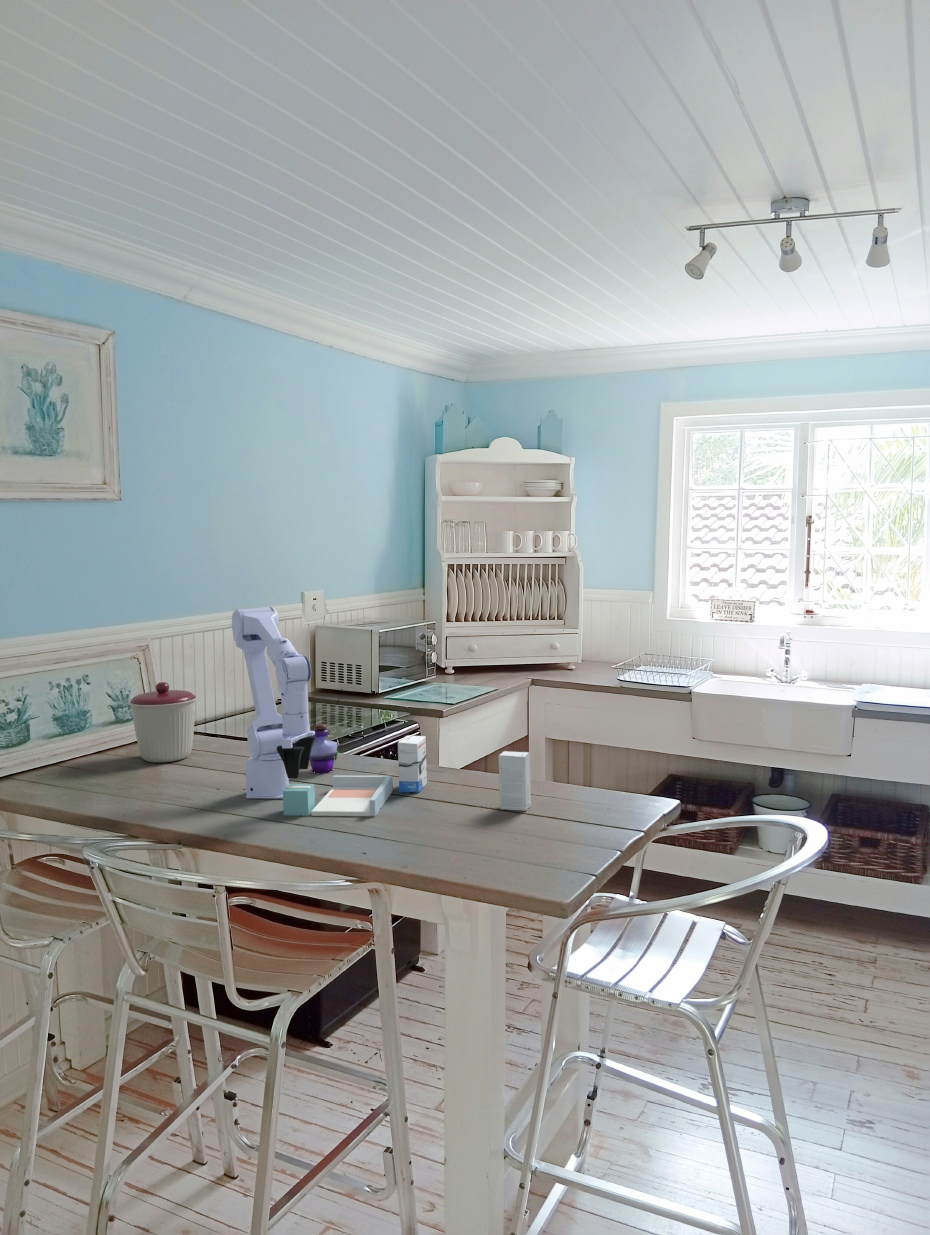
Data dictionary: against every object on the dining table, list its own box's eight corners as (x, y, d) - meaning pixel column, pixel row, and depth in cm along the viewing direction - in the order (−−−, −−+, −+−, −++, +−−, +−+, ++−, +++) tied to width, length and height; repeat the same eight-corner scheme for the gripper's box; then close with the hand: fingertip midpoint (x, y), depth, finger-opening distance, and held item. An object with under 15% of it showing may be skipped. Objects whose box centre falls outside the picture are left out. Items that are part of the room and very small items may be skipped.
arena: (311, 815, 208) (310, 799, 208) (334, 789, 228) (333, 775, 228) (375, 816, 207) (374, 800, 206) (393, 790, 226) (392, 775, 226)
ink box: (419, 793, 223) (417, 743, 222) (398, 792, 224) (396, 742, 223) (427, 783, 232) (426, 735, 230) (407, 783, 233) (406, 734, 231)
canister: (173, 747, 277) (168, 675, 275) (214, 755, 266) (210, 679, 264) (117, 761, 262) (112, 684, 260) (159, 770, 252) (154, 690, 249)
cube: (283, 815, 209) (282, 790, 209) (291, 808, 215) (290, 783, 214) (308, 815, 209) (307, 790, 208) (315, 808, 214) (314, 783, 214)
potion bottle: (345, 771, 245) (343, 725, 243) (314, 777, 240) (312, 730, 239) (330, 765, 252) (328, 719, 251) (299, 770, 247) (297, 724, 246)
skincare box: (531, 805, 211) (530, 752, 210) (526, 811, 207) (525, 756, 206) (504, 803, 213) (503, 750, 212) (499, 809, 209) (497, 755, 208)
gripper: (303, 718, 202) (306, 782, 203) (321, 705, 216) (324, 765, 218) (271, 718, 203) (274, 782, 204) (291, 705, 217) (294, 765, 218)
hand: (298, 773), depth 211 cm, fingers open, 7 cm apart
